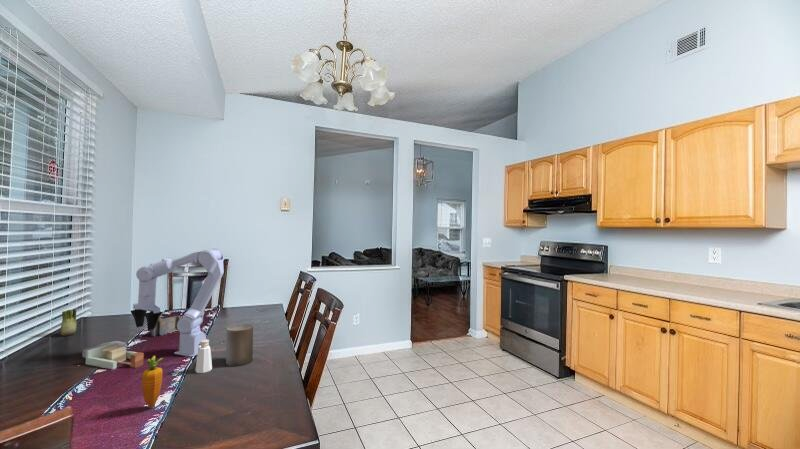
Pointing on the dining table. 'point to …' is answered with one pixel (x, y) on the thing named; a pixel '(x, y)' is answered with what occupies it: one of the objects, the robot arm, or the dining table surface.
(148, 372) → the carrot
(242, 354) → the pillar candle
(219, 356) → the dining table surface
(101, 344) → the stone block
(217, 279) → the robot arm
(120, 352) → the tethered block
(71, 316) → the fennel bulb
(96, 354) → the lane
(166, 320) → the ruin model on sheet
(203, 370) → the pepper shaker
